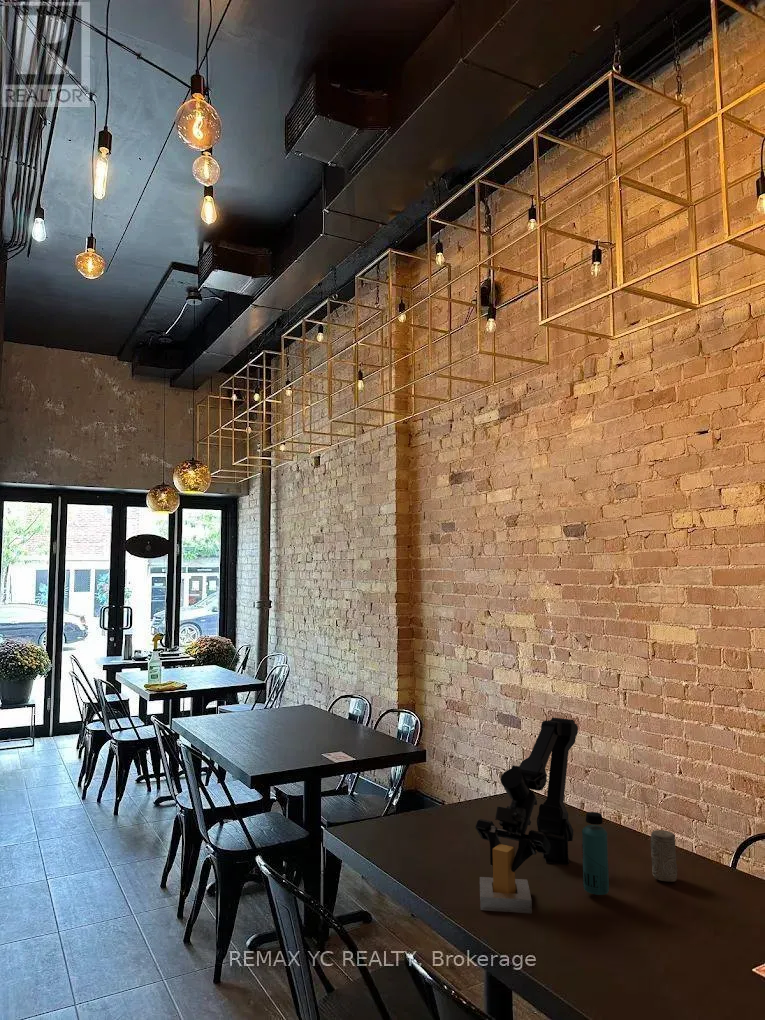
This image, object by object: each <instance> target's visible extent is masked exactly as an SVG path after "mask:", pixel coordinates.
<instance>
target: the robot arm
mask: <svg viewBox="0 0 765 1020" xmlns="http://www.w3.org/2000/svg"><path fill="white" fill-rule="evenodd" d="M578 732H579V726H578V724H577V723H576V722H575V721H574V720H573V719H569V718H568V719H567V718H562V717H560V718H559V717H552V718H551V719H550V720H547V719H546V720H542V722H541V726H540V732H539V734H538V736H537V738H536V741H535V743H534V746H533V747H532V750H531V752H530V754H529V756H528V757H526V758H524V760H522V761H521V762H520V764H519V766H517V765H515V764H514V765H512V766H511V768H510V769H509V768H508V769H507V770H505V771H504V772H503V773H502V774H501V776H500V783H501V785H502V787H503V789H504V791H505V792H506V794H507V797H509V799H511V800H510V801H511V802H510V805H509V806H508V805H507V806H506V807H503V806H498V805H497V807H496V811H495V817H494V819H495V820H496V821H499V823H498V824H499V826H501V827H502V828H499V827H496V826H495V824H494V822H493V821H492V820H487V819H483V818H480V819H478V820H476V823H475V826H474V828H475V830H476V831H477V832H476V833H478V835H479V836H480V838H481V839H482V840H485V841H489V861H490V866H491V867H492V868H493V848H494V847H496V846H497V845H499V844H502V843H501V841H500V839H501V838H504V839H508V840H513V841H516V842H518V847H517V850H516V851H515V858H514V861H513V864H512V868H511V870H512V872H515V873H516V870H518V868H520V866H522V865H523V863H524V862H526V861H527V860H528V859H529V858H531V856H532V855H534V856H535V855H537V853H538V854H539V853H540V854H542V858H543V859H544V861H545V863H546V864H559V865H570V860H569V842H572V841H573V838H574V828H573V827H572V824H571V823H570V821H569V812H568V810H567V807H566V804H565V802H564V801H565V791H566V781H567V780H566V779H567V771H568V762H569V761H568V760H569V752H570V750H571V748H572V747H573V746H574V745H575V743H576V740H577V735H578V734H579V733H578ZM549 759H550V764H549V773H548V774H549V775H548V774H547V771H546V768H547V764H548V762H549ZM547 777H548V778H547ZM547 782H548V783H547ZM546 784H548V785H547V794H546V799H545V801H544V802H542V803H541V804H540V805H539V807H538V815H537V818H536V826H537V830H532V829H531V830H529V831H528V833H527V834H526V832H527V830H528V826H531V824H532V821H531V816H532V814H533V809H534V806H537V805H538V800H537V797H536V794H535V793H534V792H533V790H534V791H543V790H544V787H546Z"/></svg>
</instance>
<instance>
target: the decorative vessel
mask: <svg viewBox="0 0 765 1020" xmlns="http://www.w3.org/2000/svg"><path fill="white" fill-rule="evenodd" d="M675 836H676V835H675V834H674V833H673V832H672V831H668V830H665V829H655V830H652V831H651V834H650V850H651V852H650V853H651V855H650V856H651V867H652V869H651V871H652V876H653V878H654V879H656V880H658V881H662V882H668V883H670V882H671V883H674V882H676V881H677V878H678V865H677V859H676V858H677V856H676V853H677V852H676V837H675Z"/></svg>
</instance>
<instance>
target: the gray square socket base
mask: <svg viewBox="0 0 765 1020" xmlns="http://www.w3.org/2000/svg"><path fill="white" fill-rule="evenodd" d="M515 892H516V894H511V893H494V891H493V877H491V876H490V877H489V876H479V899H480V900H479V902H480V911H485V912H486V911H489V912H501V913H502V912H505V913H517V914H518V913H519V914H521V913H522V914H532V913H533V911H532V910H533V909H532V907H533V906H532V903H533V902H532V901H533V900H532V897H531V891H530V887H529V882H528V879H524V878H515Z"/></svg>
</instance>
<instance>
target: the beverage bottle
mask: <svg viewBox="0 0 765 1020" xmlns="http://www.w3.org/2000/svg"><path fill="white" fill-rule="evenodd" d="M585 822H586V824H587V823H588V825H586V826H584V827H583V828H582V829H581V835H582V837H581V843H582V844H581V847H582V851H581V853H582V854H581V856H582V863H581V864H582V886H583V889H584V891H585V892H587V893H589V894H592V895H597V896H603V895H607V894H608V893H609V891H610V878H609V877H610V874H609V857H608V856H609V854H608V832H607V830H606V829H605V828H604V827H603V826H601V825H602V824H603V822H604V820H603V815H602V813H599V812H595V811H589V812H586V813H585Z"/></svg>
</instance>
